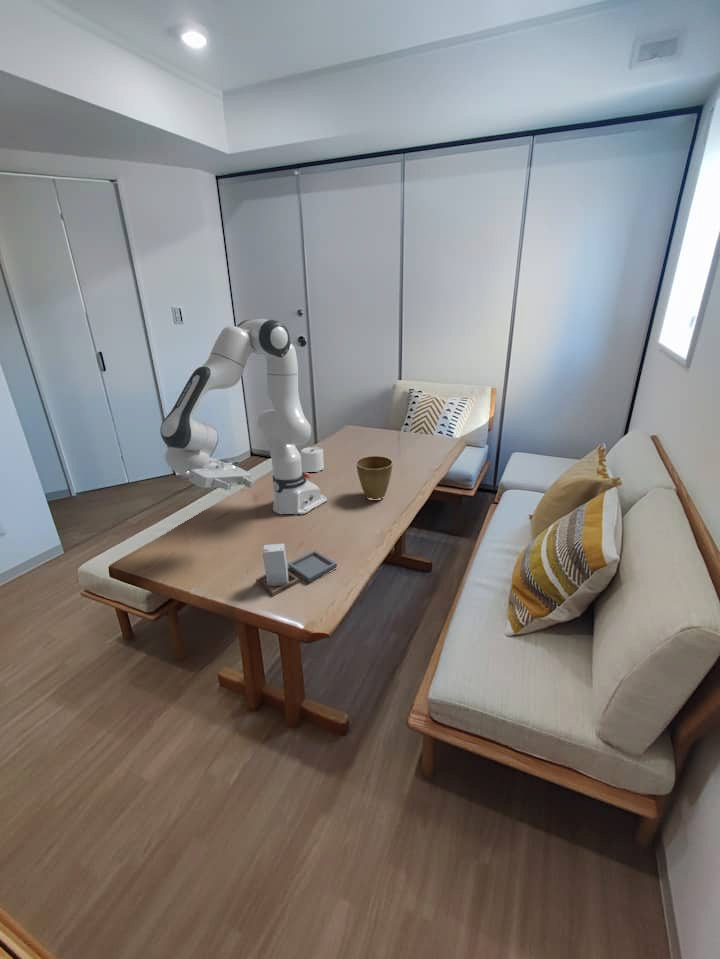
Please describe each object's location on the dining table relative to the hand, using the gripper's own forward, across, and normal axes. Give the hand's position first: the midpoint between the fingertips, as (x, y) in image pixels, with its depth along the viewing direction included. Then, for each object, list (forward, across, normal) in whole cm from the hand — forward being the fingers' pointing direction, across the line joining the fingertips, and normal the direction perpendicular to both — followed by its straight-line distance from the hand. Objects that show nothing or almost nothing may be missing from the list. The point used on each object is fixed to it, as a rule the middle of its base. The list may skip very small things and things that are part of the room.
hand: (240, 486), depth 126 cm
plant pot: (+17, +65, +4) cm, 67 cm away
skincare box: (+19, +3, +24) cm, 31 cm away
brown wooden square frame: (+19, +2, +24) cm, 31 cm away
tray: (+24, +12, +19) cm, 33 cm away
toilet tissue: (-25, +80, +6) cm, 84 cm away
